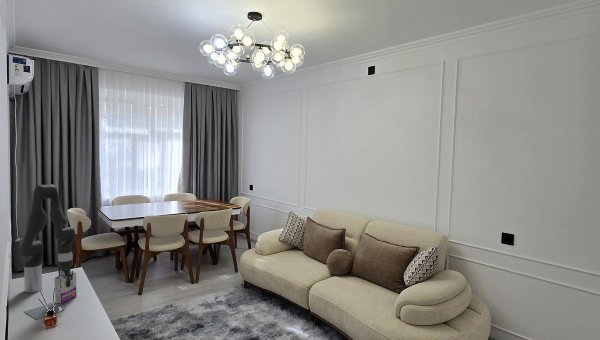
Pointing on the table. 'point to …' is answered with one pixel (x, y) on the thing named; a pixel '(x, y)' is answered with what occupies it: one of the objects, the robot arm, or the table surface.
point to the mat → (41, 311)
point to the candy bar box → (64, 288)
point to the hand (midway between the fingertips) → (65, 284)
